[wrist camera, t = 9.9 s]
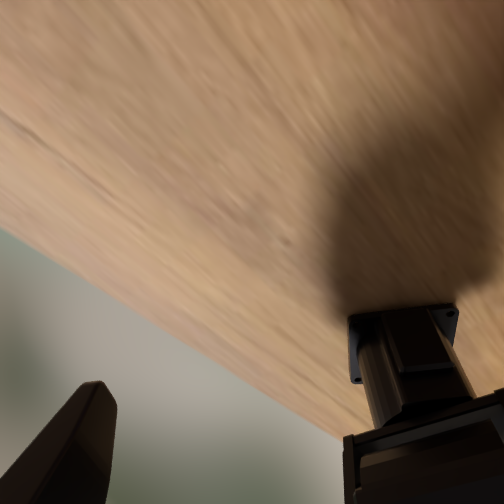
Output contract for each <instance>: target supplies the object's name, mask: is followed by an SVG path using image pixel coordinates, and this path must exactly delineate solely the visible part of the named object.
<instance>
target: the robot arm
mask: <svg viewBox="0 0 504 504" xmlns="http://www.w3.org/2000/svg"><path fill="white" fill-rule="evenodd" d="M449 311H450V312H449ZM458 316H459V310H458V308H457V307H456V305H455V304H453V303H447V304H439V305H430V306H422V307H414V308H406V309H398V310H390V311H381V312H373V313H365V314H357V315H352V316H351V317H349V318H348V320H347V326H348V349H349V372H350V379H351V382H352V383H353V384H363V385H364V389H365V393H366V397H367V401H368V405H369V408H370V412H371V416H372V420H373V424H374V428H375V429H373V430H370V431H367V432H364V433H360V434H357V435H353V434H351V435H348V436H345V437H343V447H344V451H343V476H344V501H345V504H504V388H501V389H498V390H495V391H494V393H491V394H488V395H485V396H482V397H478V398H477V396H476V394H475V392H474V390H473V388H472V386H471V384H470V382H469V380H468V378H467V376H466V374H465V372H464V370H463V368H462V366H461V364H460V362H459V360H458V358H457V356H456V354H455V351H454V349H453V343H454V338H455V332H456V327H457V321H458ZM356 322H358V323H356ZM116 419H117V404H116V401H115V399H114V397H113V396H112V394H111V393H110V391H109V389H108V388H107V386H106V385H105V383H104V382H102V381H91V382H85V383H83V384H82V385H80V386H79V388H78V389H77V390H76V391H75V392H74V393H73V395H72V396H71V397H70V398H69V399H68V400H67V401H66V403H65V404H64V405H63V406H62V407H61V409H60V410H59V411H58V412H57V413H56V414H55V415H54V417H53V418H52V419H51V420H50V422H48V424H47V425H46V426H45V427H44V428H43V429H42V430H41V432H40V433H39V434H38V435H37V436H36V437H35V439H34V440H33V441H32V442H31V443H30V444H29V446H28V447H27V448H26V449H25V450H24V451H23V453H22V454H21V455H20V456H19V457H18V458H17V459H16V461H15V462H14V463H13V464H12V465H11V466H10V468H9V469H8V470H7V471H6V472H5V473H4V475H3V476H2V477H1V478H0V504H105V503H106V498H107V493H108V488H109V482H110V475H111V467H112V458H113V448H114V439H115V429H116Z"/></svg>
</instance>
